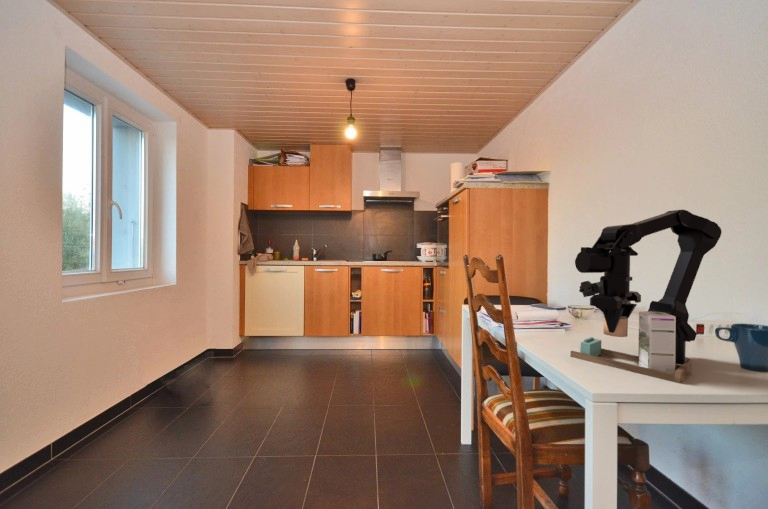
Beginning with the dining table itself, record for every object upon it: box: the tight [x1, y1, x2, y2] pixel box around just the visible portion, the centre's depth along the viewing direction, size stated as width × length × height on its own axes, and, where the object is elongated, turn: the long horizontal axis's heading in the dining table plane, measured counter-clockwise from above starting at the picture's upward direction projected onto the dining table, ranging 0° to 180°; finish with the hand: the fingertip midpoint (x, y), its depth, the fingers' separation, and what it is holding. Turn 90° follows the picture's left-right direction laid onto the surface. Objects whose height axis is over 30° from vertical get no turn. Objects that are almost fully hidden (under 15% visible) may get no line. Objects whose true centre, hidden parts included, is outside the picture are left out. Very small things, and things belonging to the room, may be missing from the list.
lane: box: [569, 347, 692, 384], centre depth 92 cm, size 10×24×2 cm, turn 38°
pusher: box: [579, 336, 602, 357], centre depth 99 cm, size 8×2×5 cm, turn 128°
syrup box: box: [637, 310, 676, 374], centre depth 87 cm, size 6×6×14 cm
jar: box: [602, 315, 629, 338], centre depth 94 cm, size 5×5×5 cm
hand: (615, 330), depth 94 cm, fingers closed on jar, 5 cm apart
